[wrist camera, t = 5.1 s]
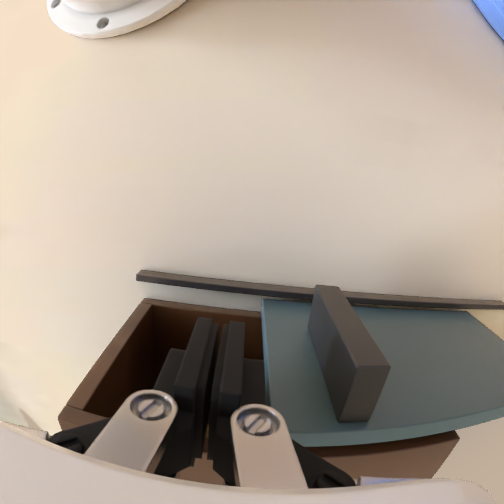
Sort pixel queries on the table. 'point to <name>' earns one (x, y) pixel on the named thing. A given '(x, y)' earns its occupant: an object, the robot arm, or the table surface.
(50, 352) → the table surface
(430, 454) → the cabinet
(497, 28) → the water jug
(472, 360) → the glass door
